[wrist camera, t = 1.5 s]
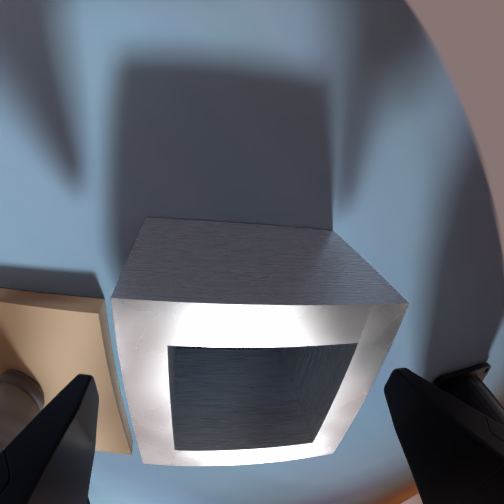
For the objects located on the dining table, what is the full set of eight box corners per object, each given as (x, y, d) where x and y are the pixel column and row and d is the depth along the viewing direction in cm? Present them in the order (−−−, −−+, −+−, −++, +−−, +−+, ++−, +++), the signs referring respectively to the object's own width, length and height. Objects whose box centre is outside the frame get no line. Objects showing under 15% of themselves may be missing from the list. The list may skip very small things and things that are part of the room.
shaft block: (104, 299, 11) (59, 427, 6) (132, 441, 15) (128, 531, 10) (-66, 277, 9) (-132, 349, 4) (-7, 412, 13) (-32, 482, 8)
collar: (333, 230, 11) (409, 303, 7) (297, 365, 14) (332, 453, 9) (146, 217, 10) (111, 297, 6) (151, 364, 13) (143, 463, 8)
